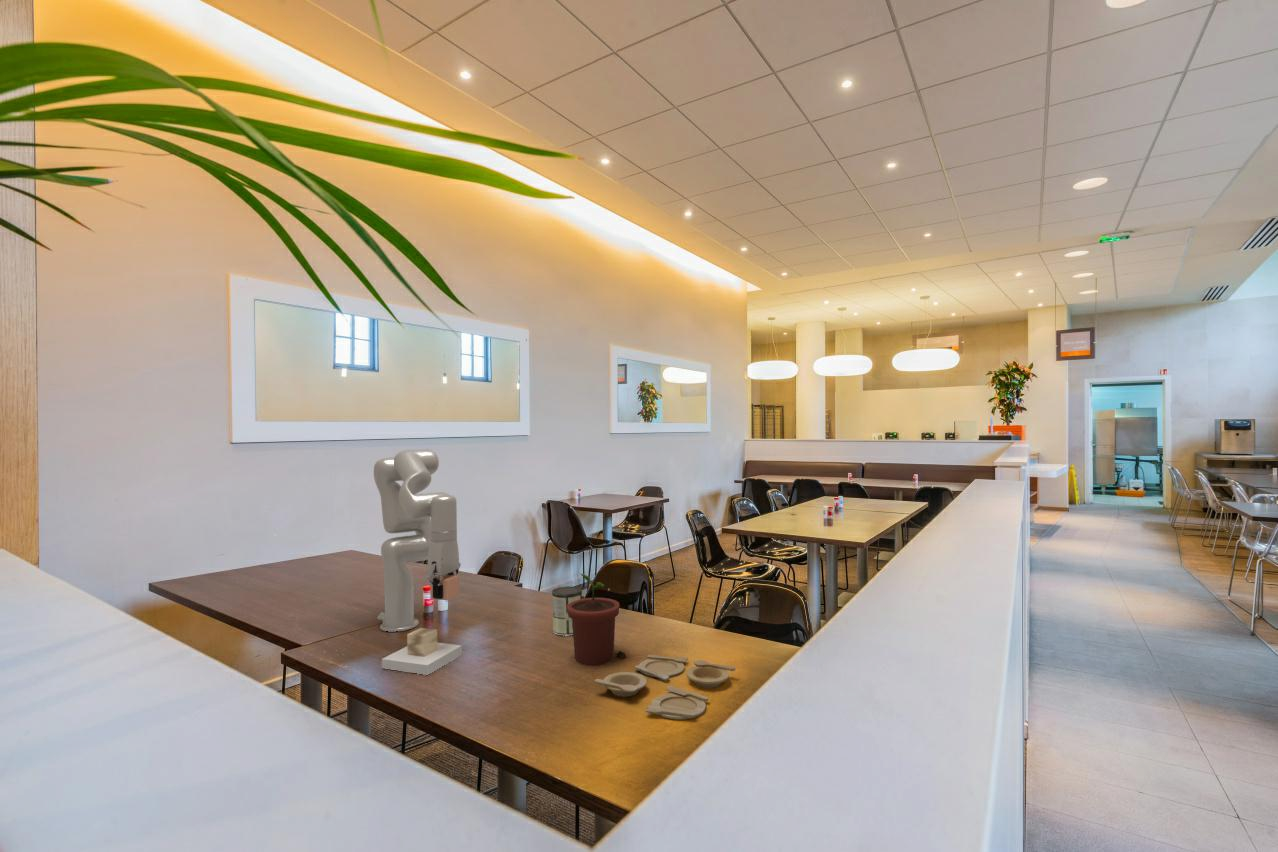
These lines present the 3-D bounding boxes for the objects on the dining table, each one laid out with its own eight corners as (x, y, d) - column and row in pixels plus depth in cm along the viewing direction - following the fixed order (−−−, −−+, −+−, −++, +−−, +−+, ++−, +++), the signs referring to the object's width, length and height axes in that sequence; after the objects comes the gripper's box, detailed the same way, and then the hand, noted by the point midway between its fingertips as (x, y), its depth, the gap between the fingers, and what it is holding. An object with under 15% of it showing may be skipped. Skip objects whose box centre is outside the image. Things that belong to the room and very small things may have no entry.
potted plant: (552, 660, 180) (551, 576, 181) (597, 638, 198) (596, 562, 198) (599, 672, 170) (598, 584, 171) (642, 648, 188) (640, 568, 188)
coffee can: (562, 625, 212) (562, 585, 213) (588, 628, 208) (587, 587, 208) (546, 634, 203) (545, 592, 203) (572, 638, 199) (572, 595, 199)
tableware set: (687, 731, 138) (687, 713, 138) (584, 702, 153) (584, 686, 153) (745, 676, 168) (744, 661, 168) (654, 656, 183) (654, 643, 183)
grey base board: (381, 669, 175) (381, 659, 175) (418, 649, 191) (418, 640, 191) (427, 675, 170) (427, 665, 170) (461, 655, 185) (461, 645, 185)
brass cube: (407, 654, 179) (407, 634, 179) (421, 647, 184) (420, 627, 184) (424, 656, 177) (424, 636, 177) (437, 649, 182) (437, 629, 182)
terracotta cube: (430, 599, 182) (430, 579, 181) (442, 593, 187) (442, 574, 187) (447, 600, 180) (447, 580, 180) (459, 595, 185) (459, 575, 185)
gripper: (450, 530, 193) (450, 587, 193) (415, 541, 176) (415, 602, 176) (470, 531, 191) (471, 588, 191) (437, 542, 174) (437, 604, 174)
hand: (444, 594), depth 183 cm, fingers closed on terracotta cube, 6 cm apart
